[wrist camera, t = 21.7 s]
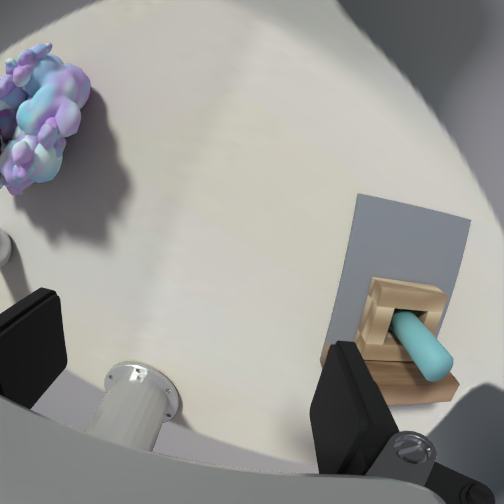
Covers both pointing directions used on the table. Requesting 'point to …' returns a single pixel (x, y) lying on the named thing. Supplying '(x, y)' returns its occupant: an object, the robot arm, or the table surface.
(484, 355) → the table surface
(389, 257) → the slate base
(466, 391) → the table surface
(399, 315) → the dowel
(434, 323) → the oak block
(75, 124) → the cotton candy cloud
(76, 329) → the table surface
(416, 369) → the walnut wall
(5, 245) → the plastic bottle
